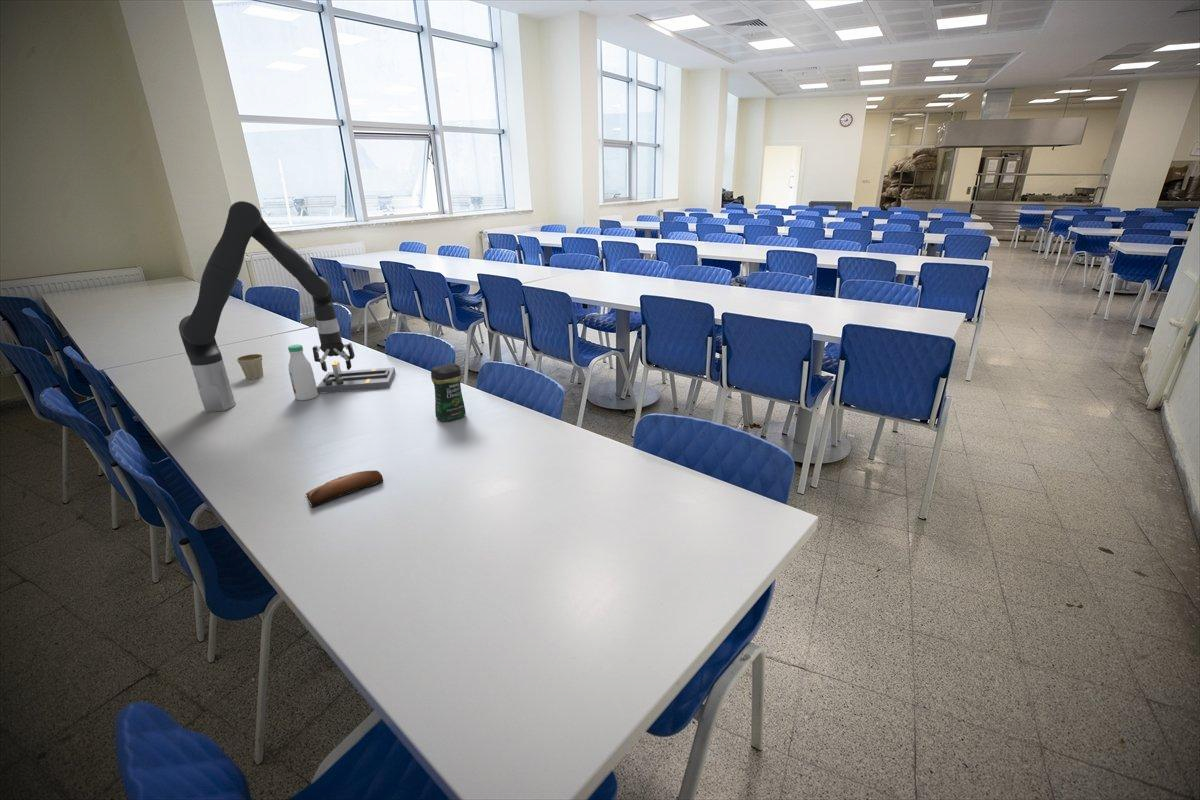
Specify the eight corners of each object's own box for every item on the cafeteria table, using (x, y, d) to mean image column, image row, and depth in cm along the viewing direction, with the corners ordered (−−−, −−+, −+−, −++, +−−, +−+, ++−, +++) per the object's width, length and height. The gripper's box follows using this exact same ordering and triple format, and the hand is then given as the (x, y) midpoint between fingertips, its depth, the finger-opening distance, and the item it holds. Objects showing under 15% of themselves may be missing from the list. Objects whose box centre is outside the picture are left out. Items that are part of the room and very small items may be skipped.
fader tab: (339, 379, 211) (336, 364, 208) (334, 379, 210) (331, 365, 208) (342, 375, 215) (339, 361, 212) (337, 376, 214) (334, 361, 212)
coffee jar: (443, 424, 177) (436, 371, 170) (433, 417, 182) (425, 365, 175) (469, 416, 183) (464, 364, 176) (459, 409, 188) (452, 359, 181)
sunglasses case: (371, 470, 148) (373, 456, 144) (382, 490, 146) (384, 476, 141) (301, 495, 137) (300, 481, 133) (312, 517, 135) (311, 503, 130)
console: (389, 387, 209) (387, 377, 208) (317, 393, 204) (315, 383, 203) (395, 372, 226) (393, 363, 224) (329, 378, 221) (327, 368, 219)
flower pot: (259, 381, 218) (253, 360, 215) (236, 381, 219) (230, 360, 215) (272, 373, 227) (267, 353, 224) (250, 373, 227) (245, 354, 224)
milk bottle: (322, 393, 204) (311, 343, 197) (310, 401, 197) (298, 349, 189) (303, 393, 205) (291, 342, 197) (290, 400, 198) (277, 348, 190)
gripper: (306, 334, 201) (315, 375, 207) (346, 331, 203) (354, 371, 210) (311, 329, 207) (320, 368, 214) (350, 326, 210) (358, 365, 216)
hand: (337, 370), depth 212 cm, fingers open, 8 cm apart
